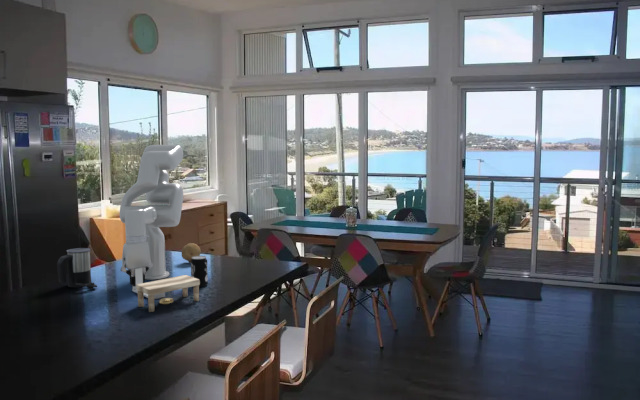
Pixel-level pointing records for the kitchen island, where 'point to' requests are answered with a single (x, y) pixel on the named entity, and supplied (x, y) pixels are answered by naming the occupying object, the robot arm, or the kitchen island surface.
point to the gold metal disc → (166, 301)
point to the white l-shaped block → (139, 280)
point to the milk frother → (76, 268)
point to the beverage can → (199, 269)
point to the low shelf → (166, 288)
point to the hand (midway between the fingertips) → (137, 284)
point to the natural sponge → (190, 251)
